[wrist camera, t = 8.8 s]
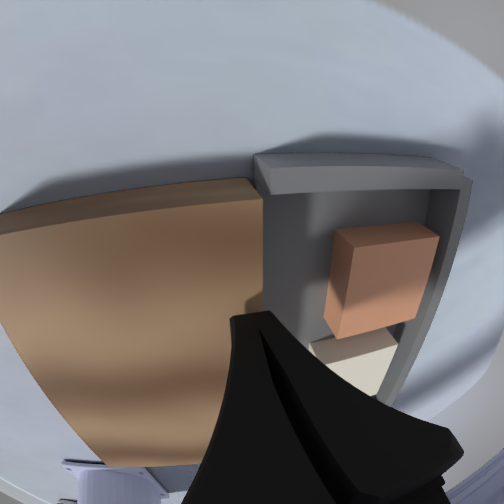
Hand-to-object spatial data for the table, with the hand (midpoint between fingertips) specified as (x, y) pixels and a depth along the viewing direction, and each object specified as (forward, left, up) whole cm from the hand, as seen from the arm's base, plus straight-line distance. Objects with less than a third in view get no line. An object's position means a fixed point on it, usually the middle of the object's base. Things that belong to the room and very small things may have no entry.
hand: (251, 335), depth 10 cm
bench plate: (-4, +4, -3) cm, 6 cm away
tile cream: (-6, -6, -1) cm, 8 cm away
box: (-3, -5, -3) cm, 6 cm away
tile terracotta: (0, -6, -1) cm, 6 cm away
